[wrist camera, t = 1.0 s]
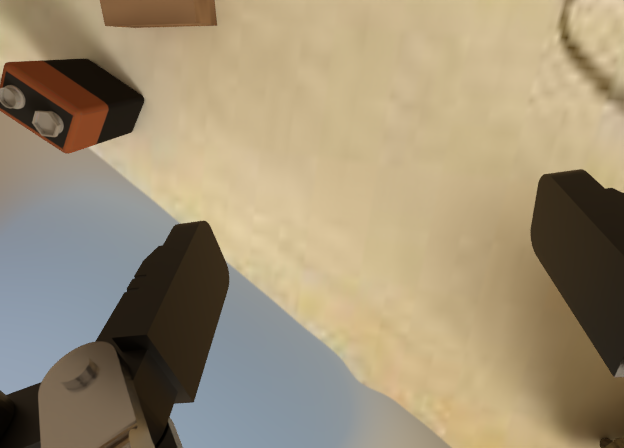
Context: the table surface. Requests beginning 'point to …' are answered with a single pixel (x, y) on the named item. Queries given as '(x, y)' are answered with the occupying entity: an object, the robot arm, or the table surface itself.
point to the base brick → (158, 13)
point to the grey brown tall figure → (612, 443)
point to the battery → (68, 102)
